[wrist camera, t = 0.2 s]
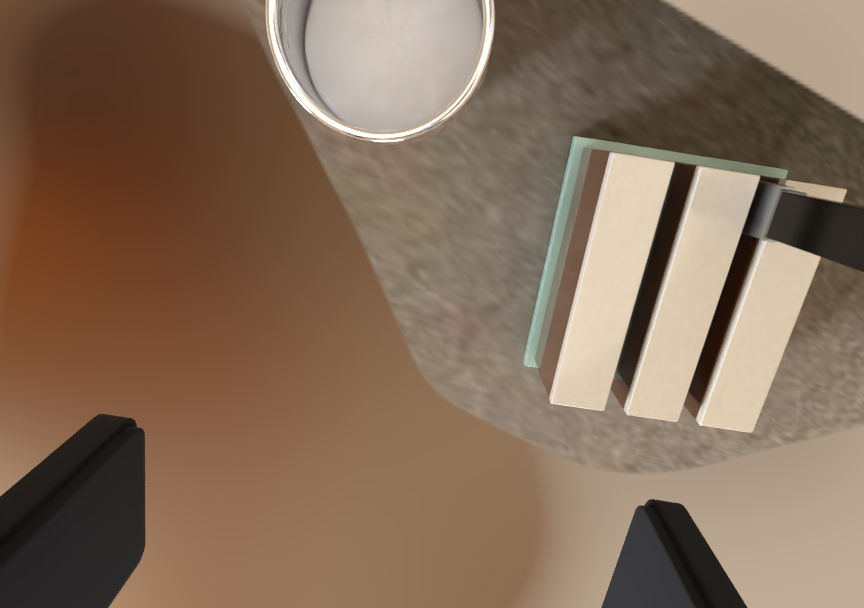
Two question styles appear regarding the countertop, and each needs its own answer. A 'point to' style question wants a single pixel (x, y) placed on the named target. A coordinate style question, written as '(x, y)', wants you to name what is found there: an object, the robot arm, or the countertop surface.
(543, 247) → the countertop surface
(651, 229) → the slatted panel
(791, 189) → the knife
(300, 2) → the beer glass
